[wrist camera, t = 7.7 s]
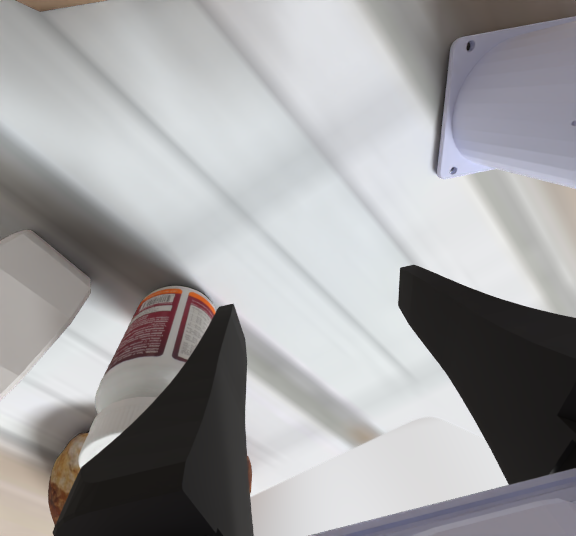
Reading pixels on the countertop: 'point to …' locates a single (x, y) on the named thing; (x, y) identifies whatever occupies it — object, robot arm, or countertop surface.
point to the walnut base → (54, 3)
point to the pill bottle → (147, 361)
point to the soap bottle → (34, 302)
